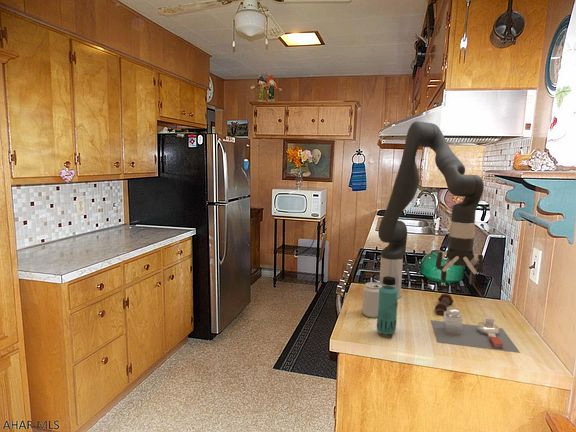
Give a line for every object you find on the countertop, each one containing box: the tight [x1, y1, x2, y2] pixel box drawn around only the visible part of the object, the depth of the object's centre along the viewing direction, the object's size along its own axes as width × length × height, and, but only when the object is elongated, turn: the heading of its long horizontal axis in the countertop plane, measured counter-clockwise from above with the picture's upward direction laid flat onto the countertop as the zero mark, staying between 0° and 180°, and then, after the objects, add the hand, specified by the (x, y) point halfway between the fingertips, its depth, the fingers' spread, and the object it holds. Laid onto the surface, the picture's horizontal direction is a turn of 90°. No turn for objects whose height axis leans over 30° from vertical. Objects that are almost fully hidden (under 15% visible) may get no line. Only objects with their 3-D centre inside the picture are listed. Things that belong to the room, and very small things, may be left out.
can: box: [361, 282, 382, 319], centre depth 144 cm, size 8×8×12 cm
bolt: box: [434, 293, 454, 317], centre depth 150 cm, size 6×5×15 cm
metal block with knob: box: [442, 306, 464, 336], centre depth 129 cm, size 5×5×8 cm
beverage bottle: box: [376, 276, 399, 335], centre depth 127 cm, size 6×7×20 cm
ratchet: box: [477, 315, 503, 349], centre depth 125 cm, size 6×15×5 cm, turn 166°
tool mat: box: [429, 319, 521, 354], centre depth 127 cm, size 24×18×1 cm
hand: (457, 282), depth 127 cm, fingers open, 8 cm apart
